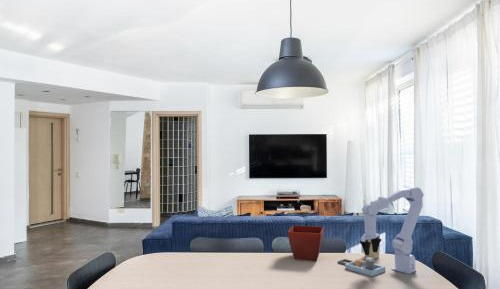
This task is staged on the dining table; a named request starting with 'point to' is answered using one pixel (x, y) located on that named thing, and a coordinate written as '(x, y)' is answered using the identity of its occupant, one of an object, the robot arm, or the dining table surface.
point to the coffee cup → (373, 254)
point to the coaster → (343, 261)
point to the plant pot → (305, 242)
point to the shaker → (370, 263)
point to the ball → (358, 263)
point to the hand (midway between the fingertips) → (370, 253)
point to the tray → (363, 270)
